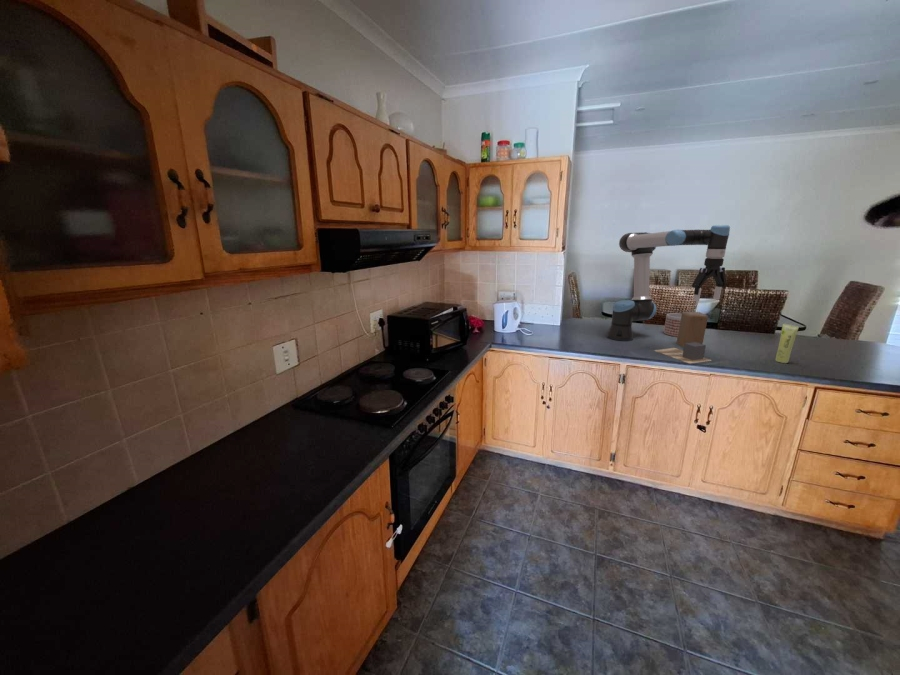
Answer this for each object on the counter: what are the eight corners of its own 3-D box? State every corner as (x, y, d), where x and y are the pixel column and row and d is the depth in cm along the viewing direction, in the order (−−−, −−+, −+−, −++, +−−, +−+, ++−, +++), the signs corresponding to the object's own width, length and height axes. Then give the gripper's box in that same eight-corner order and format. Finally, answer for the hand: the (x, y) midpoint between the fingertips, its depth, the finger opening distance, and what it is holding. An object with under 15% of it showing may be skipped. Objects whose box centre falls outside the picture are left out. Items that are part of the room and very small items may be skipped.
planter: (687, 333, 234) (691, 314, 230) (688, 338, 223) (691, 318, 219) (664, 330, 241) (667, 312, 237) (662, 335, 230) (666, 316, 226)
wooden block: (702, 350, 201) (709, 315, 195) (682, 349, 203) (689, 315, 197) (694, 344, 210) (700, 311, 204) (675, 343, 212) (681, 311, 206)
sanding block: (681, 357, 186) (684, 343, 184) (692, 356, 188) (695, 341, 186) (692, 361, 180) (695, 346, 178) (702, 360, 182) (705, 345, 180)
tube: (773, 361, 182) (783, 324, 177) (773, 359, 186) (783, 322, 180) (788, 364, 179) (799, 326, 173) (788, 361, 182) (798, 324, 177)
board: (653, 352, 198) (653, 350, 198) (674, 349, 202) (674, 347, 202) (689, 365, 178) (689, 363, 178) (711, 362, 182) (712, 360, 182)
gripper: (702, 259, 168) (694, 303, 175) (741, 257, 175) (731, 300, 181) (688, 258, 175) (680, 300, 181) (725, 256, 182) (717, 297, 188)
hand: (706, 300), depth 181 cm, fingers open, 13 cm apart
